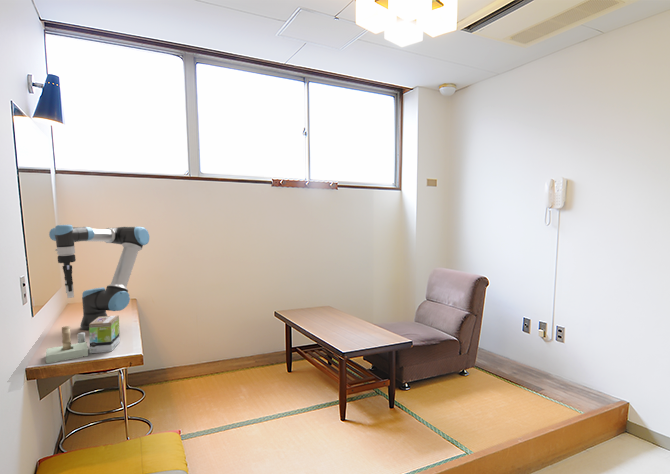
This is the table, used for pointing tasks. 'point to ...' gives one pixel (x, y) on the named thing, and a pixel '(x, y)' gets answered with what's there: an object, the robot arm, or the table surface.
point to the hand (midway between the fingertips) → (69, 295)
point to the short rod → (81, 337)
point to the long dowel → (66, 338)
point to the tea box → (104, 334)
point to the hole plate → (66, 352)
